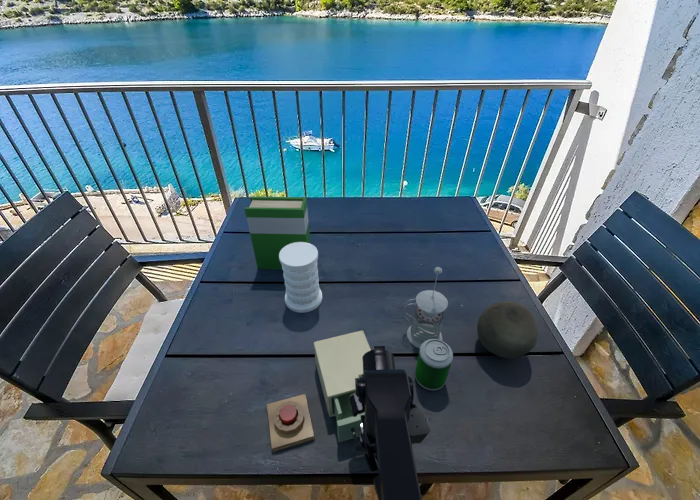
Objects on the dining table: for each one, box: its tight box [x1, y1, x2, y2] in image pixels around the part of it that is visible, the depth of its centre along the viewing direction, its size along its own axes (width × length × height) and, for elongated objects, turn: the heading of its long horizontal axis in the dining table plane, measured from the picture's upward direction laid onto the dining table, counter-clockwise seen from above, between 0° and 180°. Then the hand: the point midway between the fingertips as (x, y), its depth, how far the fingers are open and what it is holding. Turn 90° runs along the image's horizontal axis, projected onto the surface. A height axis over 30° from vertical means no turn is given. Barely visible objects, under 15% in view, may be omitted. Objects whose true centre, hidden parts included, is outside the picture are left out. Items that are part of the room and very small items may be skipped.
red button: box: [280, 405, 297, 425], centre depth 76 cm, size 4×4×2 cm
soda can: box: [414, 339, 454, 392], centre depth 83 cm, size 8×8×12 cm
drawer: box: [332, 391, 365, 453], centre depth 76 cm, size 18×11×7 cm, turn 17°
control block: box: [266, 393, 316, 453], centre depth 77 cm, size 10×9×4 cm
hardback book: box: [244, 196, 312, 270], centre depth 114 cm, size 18×7×24 cm, turn 88°
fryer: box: [313, 330, 372, 418], centre depth 83 cm, size 15×13×9 cm
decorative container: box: [279, 242, 323, 313], centre depth 103 cm, size 12×12×18 cm
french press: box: [402, 266, 449, 349], centre depth 90 cm, size 10×12×25 cm
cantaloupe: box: [476, 300, 539, 359], centre depth 89 cm, size 14×14×15 cm
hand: (377, 460), depth 67 cm, fingers closed
